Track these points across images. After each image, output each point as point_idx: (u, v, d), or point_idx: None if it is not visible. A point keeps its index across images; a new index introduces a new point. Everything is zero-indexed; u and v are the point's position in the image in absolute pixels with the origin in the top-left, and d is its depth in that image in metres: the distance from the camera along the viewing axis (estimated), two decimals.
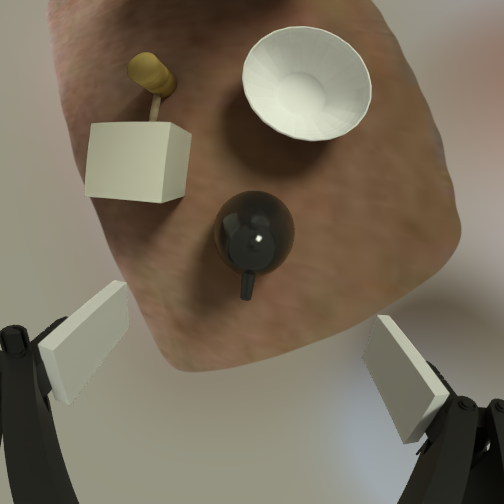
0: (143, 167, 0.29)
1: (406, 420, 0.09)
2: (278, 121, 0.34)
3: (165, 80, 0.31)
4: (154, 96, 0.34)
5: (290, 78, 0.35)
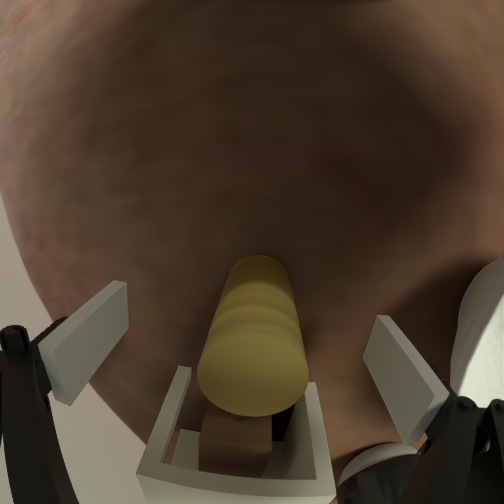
0: None
1: (406, 420, 0.09)
2: None
3: None
4: None
5: None
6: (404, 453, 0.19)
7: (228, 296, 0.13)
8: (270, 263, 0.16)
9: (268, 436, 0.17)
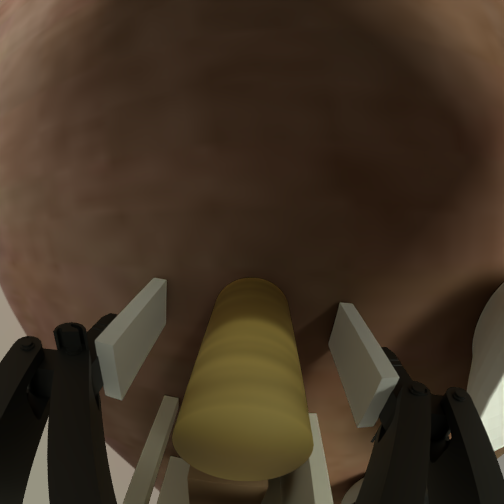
0: None
1: (359, 403, 0.10)
2: None
3: None
4: None
5: None
6: None
7: (213, 337, 0.10)
8: (265, 288, 0.14)
9: None
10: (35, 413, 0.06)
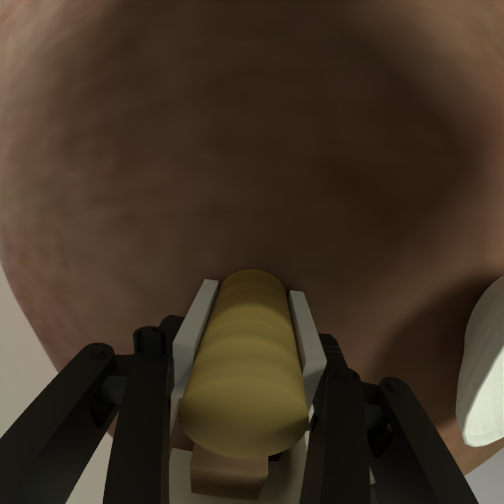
0: None
1: None
2: None
3: None
4: None
5: None
6: None
7: (216, 321, 0.11)
8: (264, 279, 0.15)
9: (264, 460, 0.15)
10: (96, 421, 0.07)
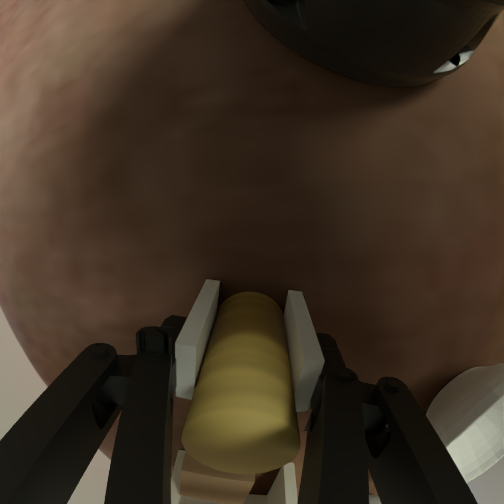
0: None
1: None
2: None
3: None
4: None
5: None
6: None
7: (217, 348, 0.11)
8: (264, 303, 0.15)
9: None
10: (98, 421, 0.07)
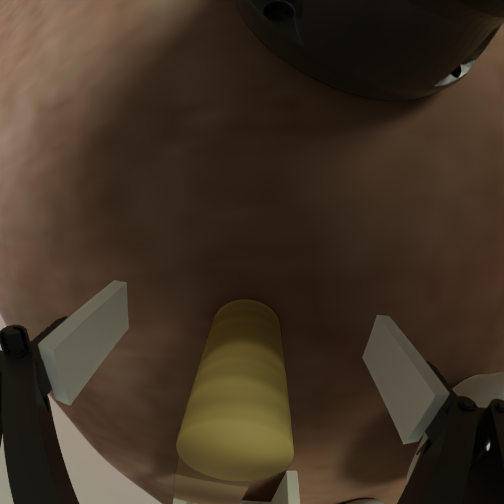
0: None
1: (406, 420, 0.09)
2: None
3: None
4: None
5: None
6: None
7: (213, 356, 0.11)
8: (261, 311, 0.15)
9: None
10: None
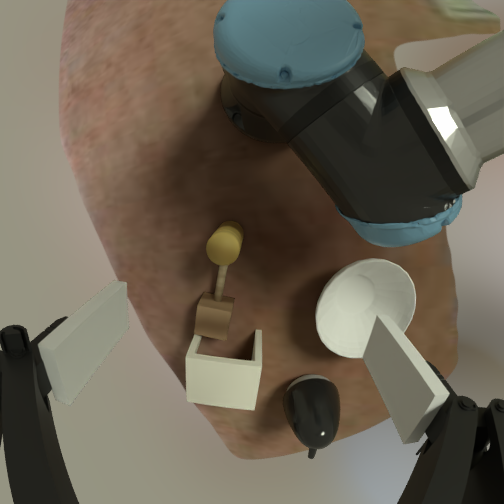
0: (239, 391, 0.38)
1: (406, 420, 0.09)
2: (337, 333, 0.43)
3: None
4: None
5: (348, 281, 0.44)
6: (318, 378, 0.46)
7: (217, 229, 0.38)
8: (235, 223, 0.41)
9: (230, 308, 0.42)
10: None
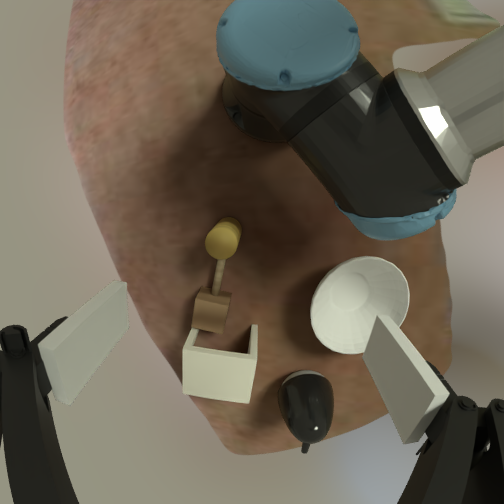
0: (235, 384, 0.40)
1: (406, 420, 0.09)
2: (331, 329, 0.44)
3: None
4: None
5: (343, 278, 0.45)
6: (312, 373, 0.47)
7: (216, 225, 0.39)
8: (233, 219, 0.42)
9: (227, 302, 0.43)
10: None
